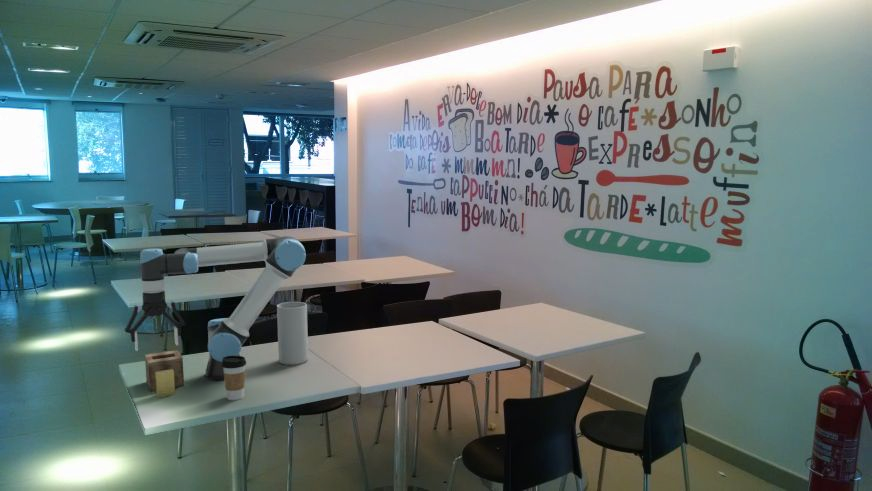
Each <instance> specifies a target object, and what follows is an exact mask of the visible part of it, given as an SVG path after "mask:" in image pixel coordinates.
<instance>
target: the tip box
mask: <svg viewBox="0 0 872 491" xmlns="http://www.w3.org/2000/svg"><path fill="white" fill-rule="evenodd" d="M144 359H145V360H144V364H145V378H146V384H147V387H148V390H149V392H154V391H155V392H156V379H155V372H157V371H164V370H170V369H173V371H174V384H175V388H178V387H184V386H185V379H184V376H185V375H184V360H183V359H184V358H183V356H182V355H181V353H180V352H179V350H178V349H177V350H168V351H162V352H156V353H149V354H144Z"/></svg>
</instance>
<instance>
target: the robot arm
mask: <svg viewBox="0 0 872 491" xmlns="http://www.w3.org/2000/svg"><path fill="white" fill-rule="evenodd" d="M306 253H307V252H306V249H305V246H304V245H303V243H301V242H300V241H299V240H298V239H296V238H295V237H293V236H279V237H274V238H265V239H264V240H263V241H261V242H251V243H250V242H249V243H247V242H246V243H237V244H226V245H215V246H206V247H205V246H204V247H196V248H195V247H193V248H188V247H187V248H186V247H180V248H179V249H177V250H175V251H174V253H164V252H163V249H162V248H147V249H143V250H141V251H140V253H139V254H140V255H139V256H140V260H139V261H140V263H139V264H140V274H141V275H140V276H141V290H142V305H137V304H136V305H133V309H132V310H133V311H132V312H131V315H130V317H129V319H128V322H127V324H126V325H125V328H124V331H125V333H129V334H130V340H131V342H132V343H134V349H135V351H136V352H138V351H139V345H138V344H139V341H138V332H137V330H138V329H139V328H140V327H141V326H142V324H143V323H144V322H145V320H146V319H147V318H148V317H150V318H153V317H160V316H162V315H163V316H164V317H165V318H166V319H167V320H169V321H170V322H171V323H172V324H173V325H174V326H173V330H174V343H175V345H176V346H179V337H180V336H181V335H182V332H181V329H182V328H181V327H182V326H185V325H186V321H185V320H184V318H183V316H181V314H180V312H179V310H178V309H177V308H176V303H175V302H174V301H170V302H167V301H166V291H165V288H166V287H165V275H177V274H179V275H180V274H181V275H182V274H194V273H197V272H199V267H201V268H202V267H209V266H210V267H211V266H218V265H219V266H220V265H229V264H240V263H241V264H242V263H252V262H253V263H254V262H262V261H264V262H265V267H264V269H263V271H261V273H260V275H259V276H258V277H257V279H256V280H255V281H254V283H253V284H252V286H250V288H249V290H248V291H247V293H246V294H245V295H244V297H243V298H242V299H241V301H240V303H239V304H238V305H237V306H236V308H235V309H234V311H233V312H232V313H231V315H230V316H229V317H223V318H215V319H211V320H209V321H208V323H207V331H208V332H207V334H208V336H207V337H208V338H207V339H208V340H207V341H208V342H207V351H208V354H209V355H208V356H209V357H208V361H207V366H206V368H205V377H206V379H208V380H212V381H224V374H223V371H224V369H223V367H222V359H223V358H224V357H226V356H241V354H240V353H241V350H242V346H243V345H244V343H245V342H246V341H247V339H248V338H249V337H250V332H249V330H250V328H251V327H252V326H253V324H254V323H255V321H256V320H257V319H258V317H259V316H260V314H261V313H262V312H263V310H264V309H265V307H266V305H268V303H269V302H270V300H271V299H272V297H273V296H274V295H275V293H276V292H277V290H279V288H280V286H281V285H282V284H283V282H284V281H285V280H287V279H291V277H292V276H293V275H294V273H295V272H296V271H297V270H298V269H300V268H301V267H302V266H303V265H304V263H305V261H306V257H307V254H306ZM167 308H169V309H171V310H172V312H174V314H175V316H176V318H177V319H178V321H179V322H178V321H177V320H176V319H175V318H173V317H172V316H171V315H170V314H169V313H168V312H167V311H166V309H167ZM141 310H142V311H143V314H142V315H141V316H140V318H138V320H137V321H136V323H135V324H134V321H135V320H136V318H137V315H138V313H139V312H141ZM133 324H134V325H133Z"/></svg>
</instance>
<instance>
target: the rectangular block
mask: <svg viewBox="0 0 872 491" xmlns="http://www.w3.org/2000/svg"><path fill="white" fill-rule="evenodd" d="M155 379H156V390H155V393H156V397H157V398H158V399H159V398H164V397H170V396H175V395H176V389H175V388H176V387H175V384H174V371H173V369H170V370H164V371H157V372H155Z"/></svg>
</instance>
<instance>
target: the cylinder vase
mask: <svg viewBox="0 0 872 491" xmlns="http://www.w3.org/2000/svg"><path fill="white" fill-rule="evenodd" d="M276 314H277V317H276V320H277V342H278V343H277V344H278V346H277V348H278V362H279V363H280V364H282V365H285V366H286V365H287V366H295V365H300V364H304V363H306V362H307V361H308V359H309V344H308V343H309V342H308V340H309V337H308V336H309V335H308V334H309V333H308V304H307V303H306V302H303V301H302V302H301V301H287V302H280V303H279V304H277V305H276Z"/></svg>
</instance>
